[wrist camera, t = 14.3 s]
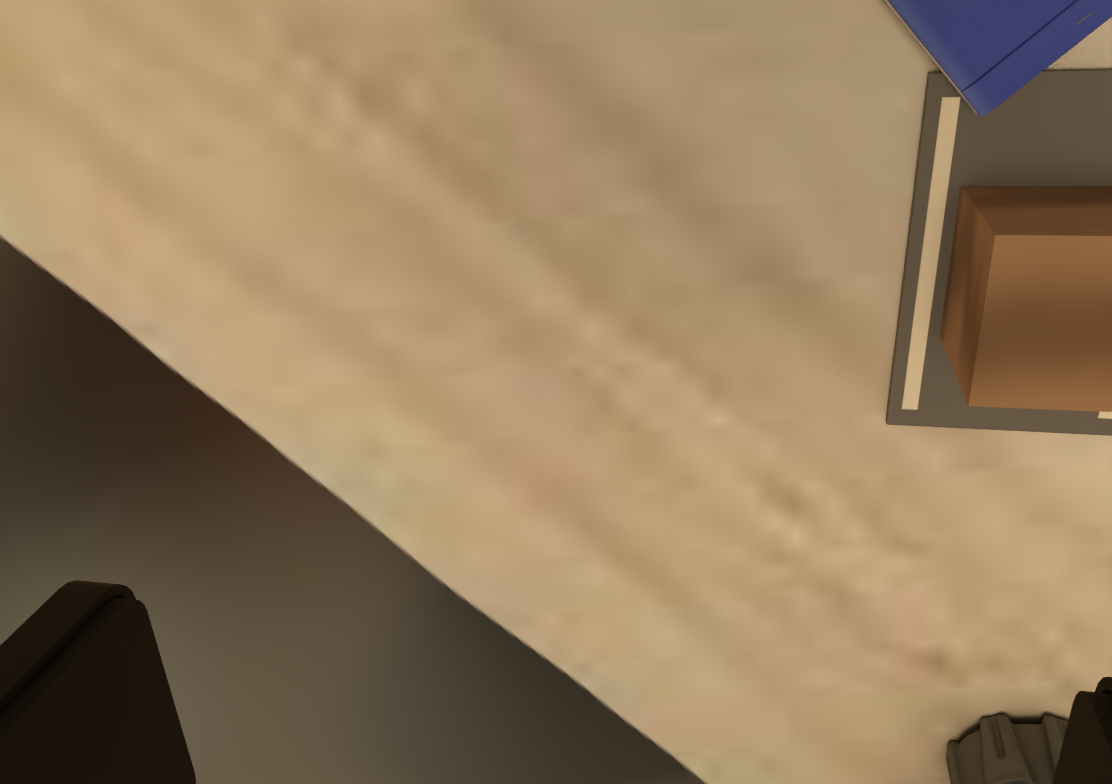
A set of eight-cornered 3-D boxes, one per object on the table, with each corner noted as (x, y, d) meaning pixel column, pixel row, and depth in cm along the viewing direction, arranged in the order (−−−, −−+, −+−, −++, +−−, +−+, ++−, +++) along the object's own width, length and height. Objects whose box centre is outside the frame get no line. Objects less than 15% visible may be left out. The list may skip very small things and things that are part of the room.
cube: (960, 186, 35) (995, 235, 30) (1139, 186, 34) (1209, 236, 29) (939, 337, 38) (968, 406, 32) (1105, 341, 37) (1162, 413, 31)
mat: (928, 71, 34) (930, 74, 34) (1209, 67, 32) (1215, 69, 32) (885, 419, 40) (887, 425, 40) (1119, 431, 38) (1124, 437, 38)
